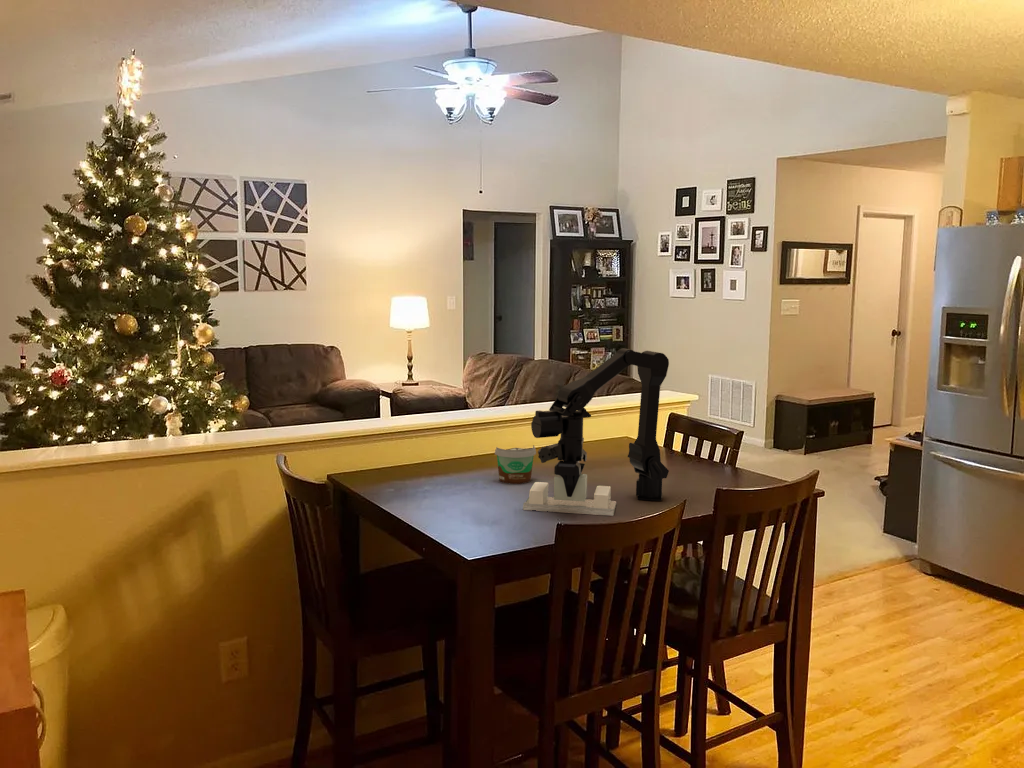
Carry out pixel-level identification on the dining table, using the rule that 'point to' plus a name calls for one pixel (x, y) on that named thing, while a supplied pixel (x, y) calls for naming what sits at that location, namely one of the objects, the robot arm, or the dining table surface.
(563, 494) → the block
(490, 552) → the dining table surface
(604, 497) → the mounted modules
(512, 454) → the food container
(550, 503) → the rail plate
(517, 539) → the dining table surface
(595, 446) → the dining table surface
